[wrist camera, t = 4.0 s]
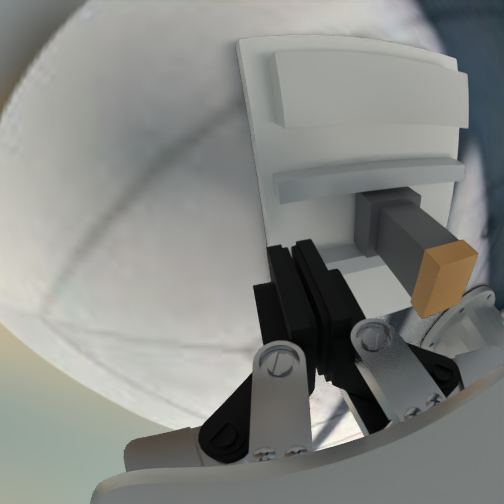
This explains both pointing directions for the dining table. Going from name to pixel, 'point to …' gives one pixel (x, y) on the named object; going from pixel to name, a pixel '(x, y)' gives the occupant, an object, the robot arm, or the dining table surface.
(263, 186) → the breaker panel
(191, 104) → the dining table surface
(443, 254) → the switch handle
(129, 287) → the dining table surface
